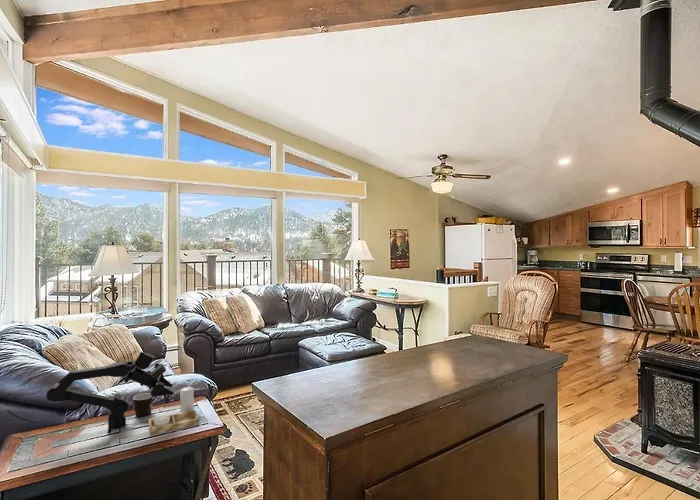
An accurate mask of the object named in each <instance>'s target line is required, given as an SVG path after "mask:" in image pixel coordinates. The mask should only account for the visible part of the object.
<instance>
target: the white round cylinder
mask: <svg viewBox="0 0 700 500" xmlns="http://www.w3.org/2000/svg"><path fill="white" fill-rule="evenodd" d="M154 418H155V419H154V427H159V426H164V425H169V424H170V416H168V415H167V414H166V415H165V414H164V415H159V416H156V417H154Z"/></svg>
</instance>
